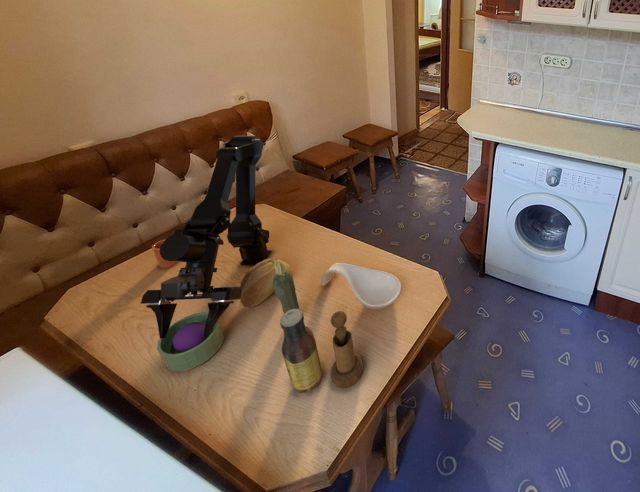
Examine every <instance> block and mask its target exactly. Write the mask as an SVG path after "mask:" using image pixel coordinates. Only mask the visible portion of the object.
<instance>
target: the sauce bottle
mask: <svg viewBox="0 0 640 492" xmlns="http://www.w3.org/2000/svg"><path fill="white" fill-rule="evenodd" d="M279 323H280V327H281V329H282V330H283V336H284V337H283V341H282V344H281V355H282V358H283V361H284V363H285V367H286V370H287V374H288V377H289V381H290V383H291V386H292V387H293V389H294V390H295V391H296V392H299V393H300V394H301V393H302V394H305V393H308V392H310V391H313V390H314V389H316V388H317V387H318V386H319V384H320V382H321V381H322V378H323V374H324V373H323V365H322V361H321V357H320V352H319V348H318V343H317V340H316V337H315V334H314V332H313V330H312V329H311V328H309V327H308V326H306V324H305V317H304V312H303V311H302V310H301V309H300V308H299V309H291V310H289V311H287V312H286V313H285V314H284V313H283V315H281V317H280V320H279Z"/></svg>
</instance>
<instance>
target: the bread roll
mask: <svg viewBox="0 0 640 492" xmlns="http://www.w3.org/2000/svg"><path fill="white" fill-rule="evenodd" d="M274 260H277V261H278V262H281V263H282V264H283V265H284V269H285V271H287V272H289V273H290V274H291V275H292V269H291V266H290V265H289V264H288V263H287V262H285V261H283V260H282V259H278V258H267V259H266V260H263V261H261V262H259V263H257V264H256V265H254V266H251V267H250V268H249V269H248V270H247V271H246V272H245V274H244V275H243V276H242V279H241V281H240V285H239V287H240V288H241V291H242V293H241V299H239V300H240V303H241V305H242V306H243V307H244V308H246V309H251V308H256V306H258V305H260V304H261V303H263V302H264V301H265V300H266V299H267V298H268V297H270V296H271V295H272V294H273V293H275V291H274V288H273V278H274V276H275V275H276V271H275V264H274V265H273V266H272V265H271V262H272V261H274Z"/></svg>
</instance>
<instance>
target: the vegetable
mask: <svg viewBox="0 0 640 492" xmlns="http://www.w3.org/2000/svg"><path fill="white" fill-rule="evenodd" d="M274 264H275V271H276V275H275V276H274V278H273V288H274V293H275V295H276V297H277V299H278V300H279V301H280V304H281V308H282V313H283V315H284V314H285V313H286V312H287V311H289V310H291V309H299V310H300V305H299V301H298V295H297V292H296V287H295V281H294V279H293V275H292V273H291V274H290V273H289V272H287V271H285V269H284V265H283V264H282V263H281V262H278V261H277V260H274V261H272V262H271V265H272V266H273V265H274Z"/></svg>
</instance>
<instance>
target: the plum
mask: <svg viewBox="0 0 640 492" xmlns="http://www.w3.org/2000/svg"><path fill="white" fill-rule="evenodd" d="M204 330H205V325H204V324H202V323H199V322H193V323H189V324H187V325H185V326H183V327H182V328H181V329H179V331H178V332H177V333H176V335H175V337H174V340H173V346H174V348H175V350H176V351H177V352H179V353H182V352H185V351H188V350H190V349H193V348H194V347H196V346H198V345H199V344H201V343H202V342H203V341H204V340H206V339H207V338H208V336H206V337H204Z"/></svg>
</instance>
